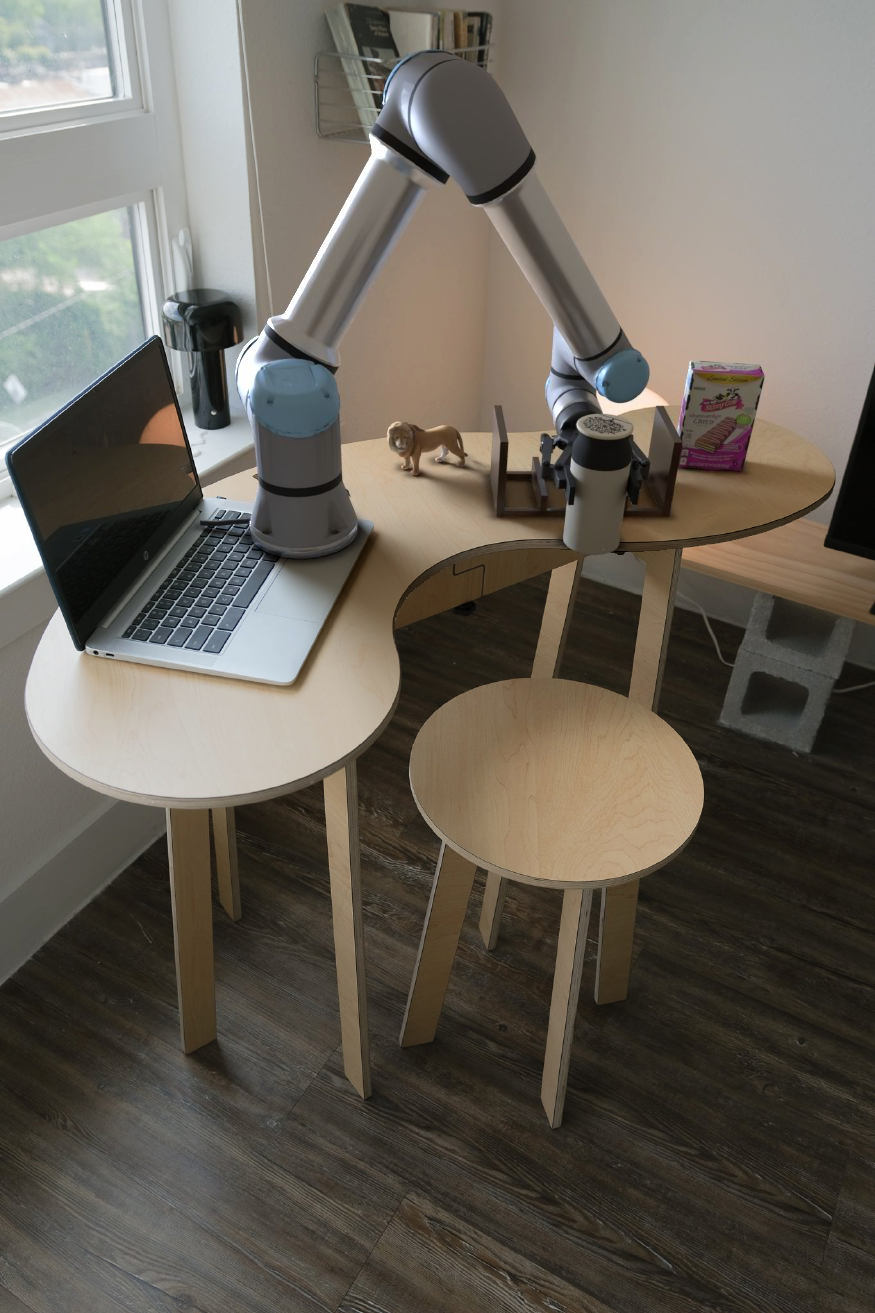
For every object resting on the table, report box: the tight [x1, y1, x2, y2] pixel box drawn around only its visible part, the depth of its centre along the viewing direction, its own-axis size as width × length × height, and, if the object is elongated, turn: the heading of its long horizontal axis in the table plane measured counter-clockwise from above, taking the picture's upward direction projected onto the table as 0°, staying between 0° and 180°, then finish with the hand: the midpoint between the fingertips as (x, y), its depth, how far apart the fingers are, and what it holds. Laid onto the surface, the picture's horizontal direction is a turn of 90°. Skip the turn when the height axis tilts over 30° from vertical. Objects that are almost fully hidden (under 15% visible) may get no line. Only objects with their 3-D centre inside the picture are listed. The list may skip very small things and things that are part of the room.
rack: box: [489, 404, 683, 518], centre depth 151 cm, size 26×13×12 cm, turn 92°
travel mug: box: [562, 413, 635, 556], centre depth 138 cm, size 8×8×18 cm
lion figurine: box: [386, 420, 469, 476], centre depth 158 cm, size 15×5×9 cm, turn 121°
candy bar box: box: [676, 360, 766, 472], centre depth 159 cm, size 11×5×16 cm, turn 84°
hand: (604, 496), depth 133 cm, fingers closed on travel mug, 8 cm apart
